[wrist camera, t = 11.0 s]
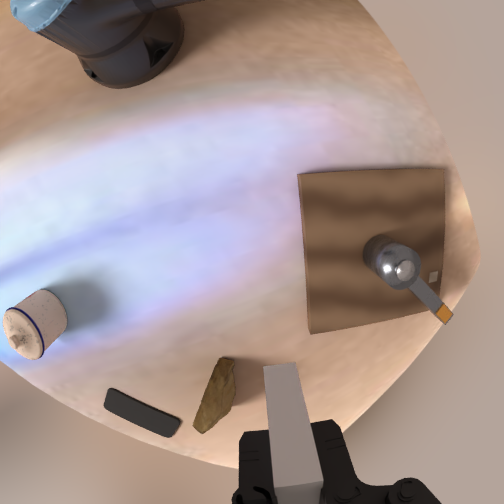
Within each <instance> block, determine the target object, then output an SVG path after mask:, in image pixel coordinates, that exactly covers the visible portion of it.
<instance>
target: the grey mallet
mask: <svg viewBox="0 0 504 504" xmlns="http://www.w3.org/2000/svg"><path fill="white" fill-rule="evenodd" d="M363 261H364V263H365V265H366V266H367V267H368V268H369V269H370V270H371V271H373V272H374V273H375V274H376V275H377V276H379V277H380V278H381V279H382V280H383V281H384V282H386V283H387V284H388V285H389V286H390V287H392V288H393V289H396V290H403V289H406V288H408V289H409V290H410V291H411V292H412V293H413V294H414V295H415V296H416V297H417V298H418V299H419V300H420V301H421V302H422V303H423V304H424V305H425V306H426V307H427V308H428V309H429V310H430V311H431V312H432V313H433V314H434V315H435V316H436V317H437V318H438V319H439V320H440V321H441V322H442V323H444V324H445V325H446V323H447V322H448V321H449V320H450V318H451V317H452V316H453V313H452V312H451V311H450V310H449V308H448V307H447V306H446V305H445V304H444V303H443V302H442V301H441V299H440V298H439V297H438V296H437V295H436V294H435V293H434V292H433V291H432V289H431V288H430V287H429V286H428V285H427V284H426V283H425V282H424V281H423V280H422V279H421V278H420V277H419V274H420V270H421V260H420V257H419V255H418V254H417V252H416V251H414V250H413V249H411V248H409V247H407V246H405V245H403V244H401V243H399V242H397V241H395V240H393V239H391V238H389V237H387V236H385V235H376V236H374V237H372V238H371V239H369V240H368V242H367V243H366V244H365V246H364V249H363Z"/></svg>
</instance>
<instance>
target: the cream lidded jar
mask: <svg viewBox="0 0 504 504" xmlns="http://www.w3.org/2000/svg"><path fill="white" fill-rule="evenodd" d="M66 326H67V315H66V312H65V309H64V307H63V305H62V303H61V302H60V300H59V299H58V298H57V297H56V296H55V295H54V294H52V293H51V292H49V291H47V290H37V291H36V292H34V293H33V294H31V295H30V296H28V297H27V298H25V299H24V300H23V301H21V302H20V303H18V304H17V305H16V306H14V307H11V308H9V309H7V311H6V312H5V314H4V317H3V327H4V331H5V334H6V336H7V339H8V342H9V344H10V346H11V347H12V348H13V349H15V350H16V351H17V352H18V353H19V354H20V355H22V356H23V357H25V358H27V359H31V360H36V359H39V358H41V357H42V355H43V354H44V351H45V350H46V349H47V348H48V347H49V346H50V345H51V344H52V343H53V342H54V341H55V340H56V339H57V338H58V337H59V336H60V335H61V334H62V333H63V332H64V330H65V329H66Z"/></svg>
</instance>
